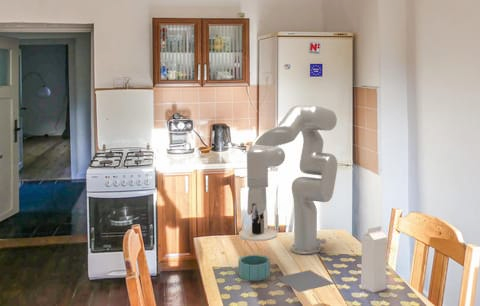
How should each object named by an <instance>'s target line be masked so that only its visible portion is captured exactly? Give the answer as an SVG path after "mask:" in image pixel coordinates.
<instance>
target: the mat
mask: <svg viewBox="0 0 480 306" xmlns="http://www.w3.org/2000/svg"><path fill="white" fill-rule="evenodd" d="M275 278H276V279H277V280H279V281H280V282H282V283H283V284H286V285H287V286H288V287H290V288H291V289H293V290H294V291H296V292H298V293H300V292H301V293H302V292H305V291H309V290H313V289H318V288H321V287H327V286H331V285H334V284H335V283H334V282H332V281H331V280H328V279H327V278H326V277H324V276H322V275H319V274H318V273H316V272H314V271H312V270H305V271H300V272H295V273H289V274H286V275H285V274H284V275H282V276H277V277H275Z"/></svg>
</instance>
